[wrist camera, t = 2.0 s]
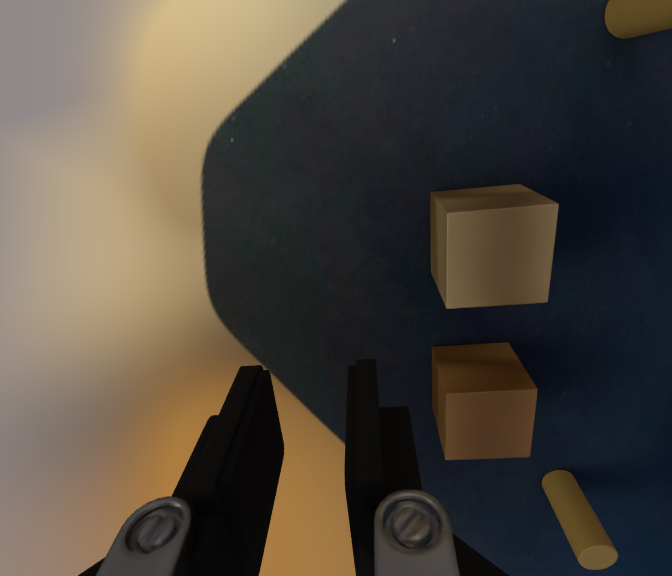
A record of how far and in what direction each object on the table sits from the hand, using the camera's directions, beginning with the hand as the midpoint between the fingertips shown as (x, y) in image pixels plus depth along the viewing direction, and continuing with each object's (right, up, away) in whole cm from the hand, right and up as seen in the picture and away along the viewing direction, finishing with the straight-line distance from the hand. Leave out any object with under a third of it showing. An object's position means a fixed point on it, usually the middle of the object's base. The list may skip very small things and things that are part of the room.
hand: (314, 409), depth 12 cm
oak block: (+10, -3, +17) cm, 20 cm away
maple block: (+9, +7, +13) cm, 17 cm away
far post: (+18, -12, +21) cm, 30 cm away
